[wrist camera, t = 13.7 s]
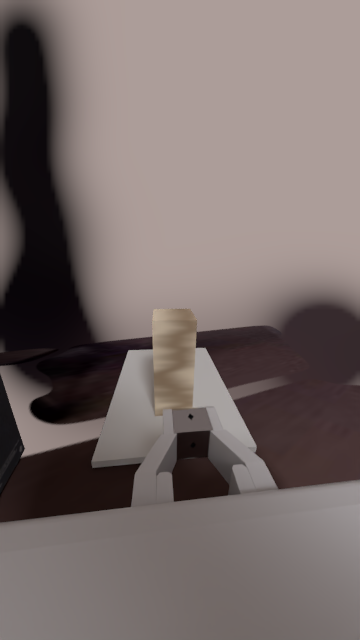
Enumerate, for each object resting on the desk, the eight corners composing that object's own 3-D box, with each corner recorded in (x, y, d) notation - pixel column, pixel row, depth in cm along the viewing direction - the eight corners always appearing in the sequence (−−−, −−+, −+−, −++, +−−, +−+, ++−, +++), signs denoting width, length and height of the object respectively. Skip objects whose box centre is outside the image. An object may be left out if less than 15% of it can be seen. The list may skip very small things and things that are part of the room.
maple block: (154, 416, 22) (152, 320, 18) (155, 390, 26) (153, 309, 23) (192, 413, 23) (196, 320, 19) (187, 389, 27) (190, 308, 23)
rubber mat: (92, 467, 17) (91, 461, 17) (128, 353, 38) (128, 350, 38) (255, 452, 19) (256, 446, 19) (205, 351, 40) (205, 347, 40)
